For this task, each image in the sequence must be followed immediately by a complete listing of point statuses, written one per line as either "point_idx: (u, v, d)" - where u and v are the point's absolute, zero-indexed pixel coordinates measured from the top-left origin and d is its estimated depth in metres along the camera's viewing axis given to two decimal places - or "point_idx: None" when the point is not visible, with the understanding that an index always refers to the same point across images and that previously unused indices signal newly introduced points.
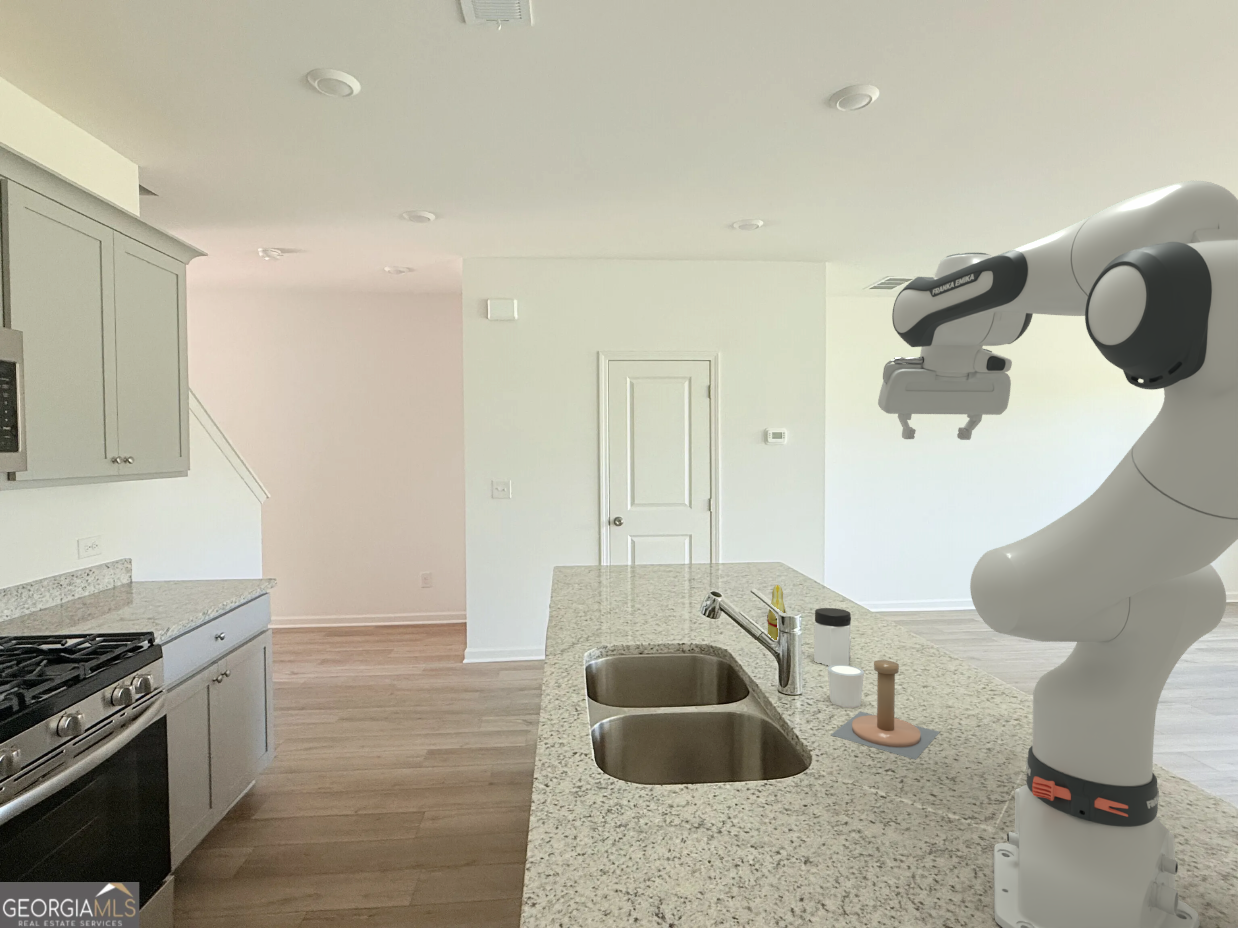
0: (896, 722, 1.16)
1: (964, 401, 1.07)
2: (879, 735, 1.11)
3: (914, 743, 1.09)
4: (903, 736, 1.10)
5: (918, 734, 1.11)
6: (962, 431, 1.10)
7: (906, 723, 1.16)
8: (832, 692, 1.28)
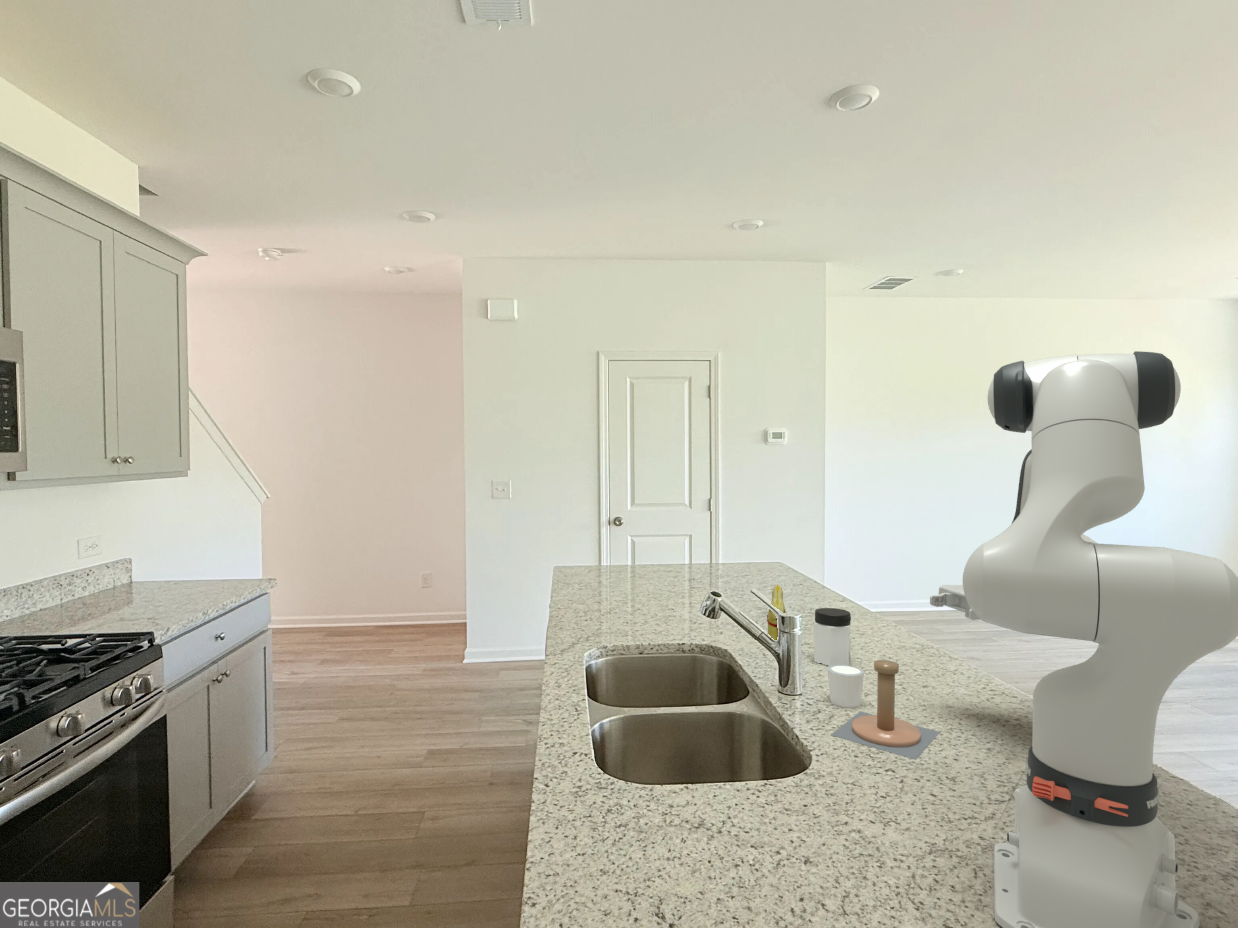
0: (896, 722, 1.16)
1: None
2: (879, 735, 1.11)
3: (914, 743, 1.09)
4: (903, 736, 1.10)
5: (918, 734, 1.11)
6: None
7: (906, 723, 1.16)
8: (832, 692, 1.28)
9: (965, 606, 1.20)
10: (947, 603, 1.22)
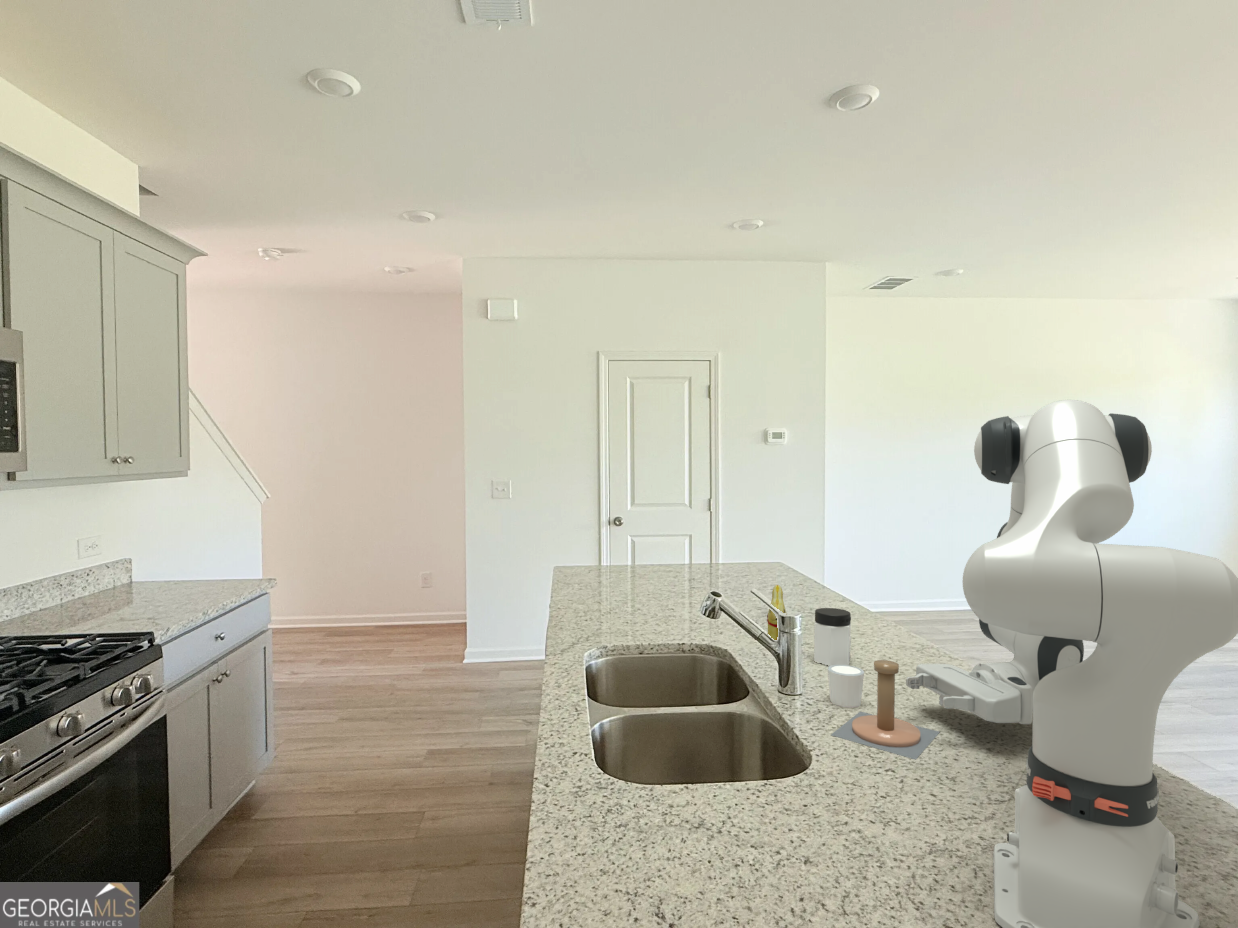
0: (896, 722, 1.16)
1: (971, 685, 1.13)
2: (879, 735, 1.11)
3: (914, 743, 1.09)
4: (903, 736, 1.10)
5: (918, 734, 1.11)
6: None
7: (906, 723, 1.16)
8: (832, 692, 1.28)
9: (941, 689, 1.19)
10: (923, 684, 1.21)
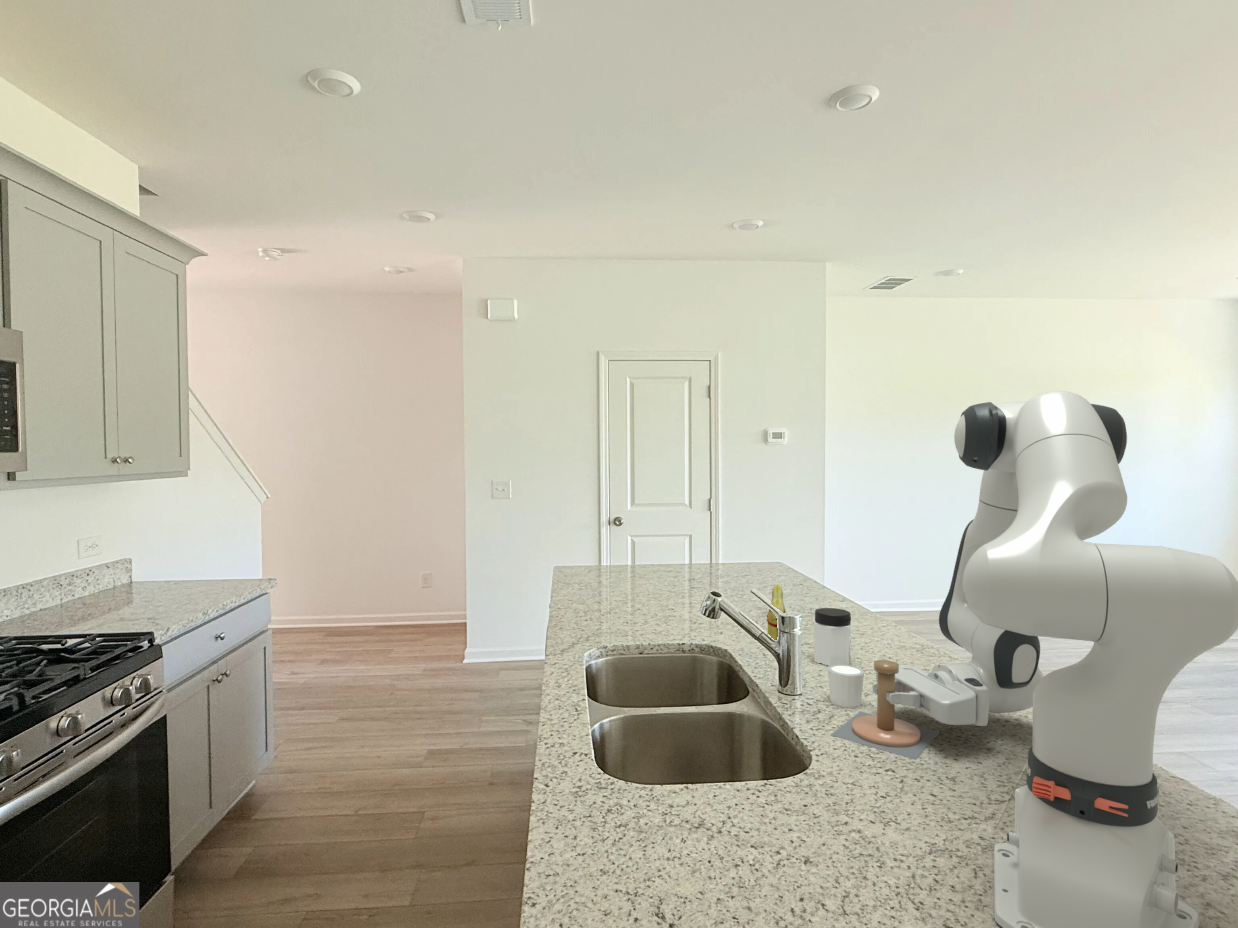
0: (896, 722, 1.16)
1: (928, 686, 1.12)
2: (879, 735, 1.11)
3: (914, 743, 1.09)
4: (903, 736, 1.10)
5: (918, 734, 1.11)
6: None
7: (906, 723, 1.16)
8: (832, 692, 1.28)
9: None
10: None
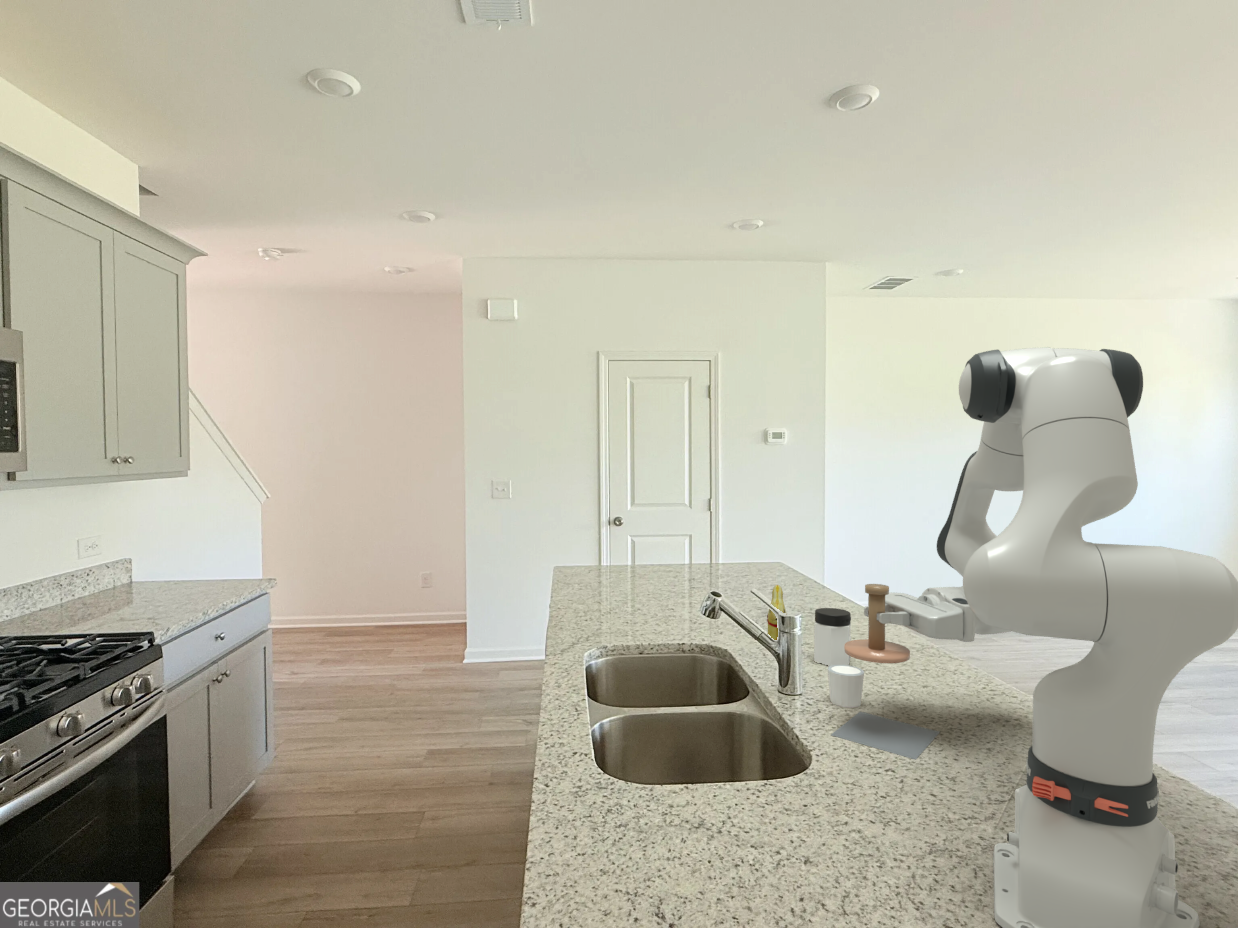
0: (887, 644, 1.20)
1: (917, 606, 1.16)
2: (870, 653, 1.15)
3: (904, 660, 1.13)
4: (893, 654, 1.14)
5: (908, 652, 1.15)
6: None
7: (897, 645, 1.20)
8: (832, 692, 1.28)
9: None
10: None
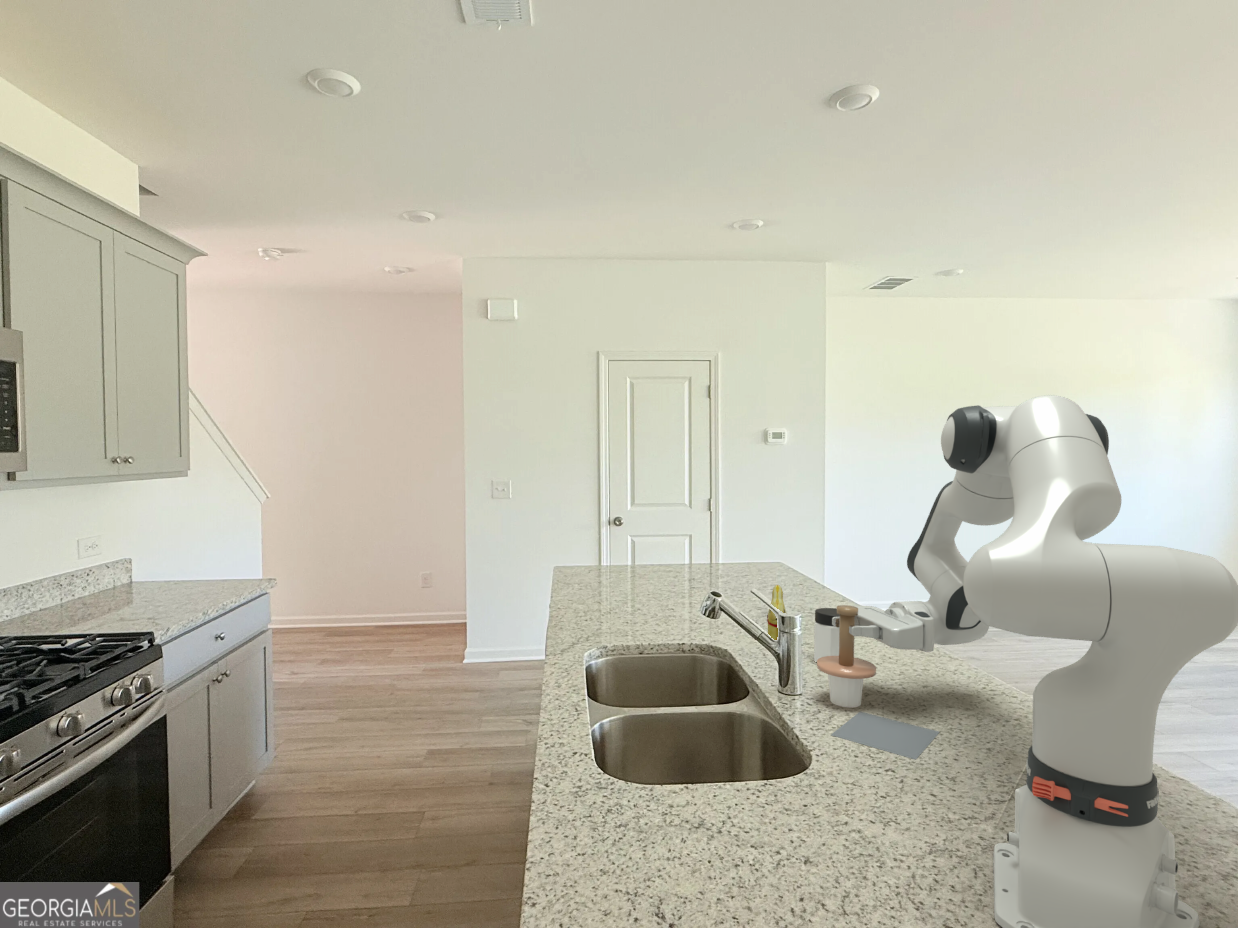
0: (856, 661, 1.31)
1: (882, 619, 1.27)
2: (839, 669, 1.25)
3: (870, 676, 1.24)
4: (860, 670, 1.25)
5: (874, 669, 1.26)
6: None
7: (865, 661, 1.31)
8: (832, 692, 1.28)
9: (859, 625, 1.32)
10: None
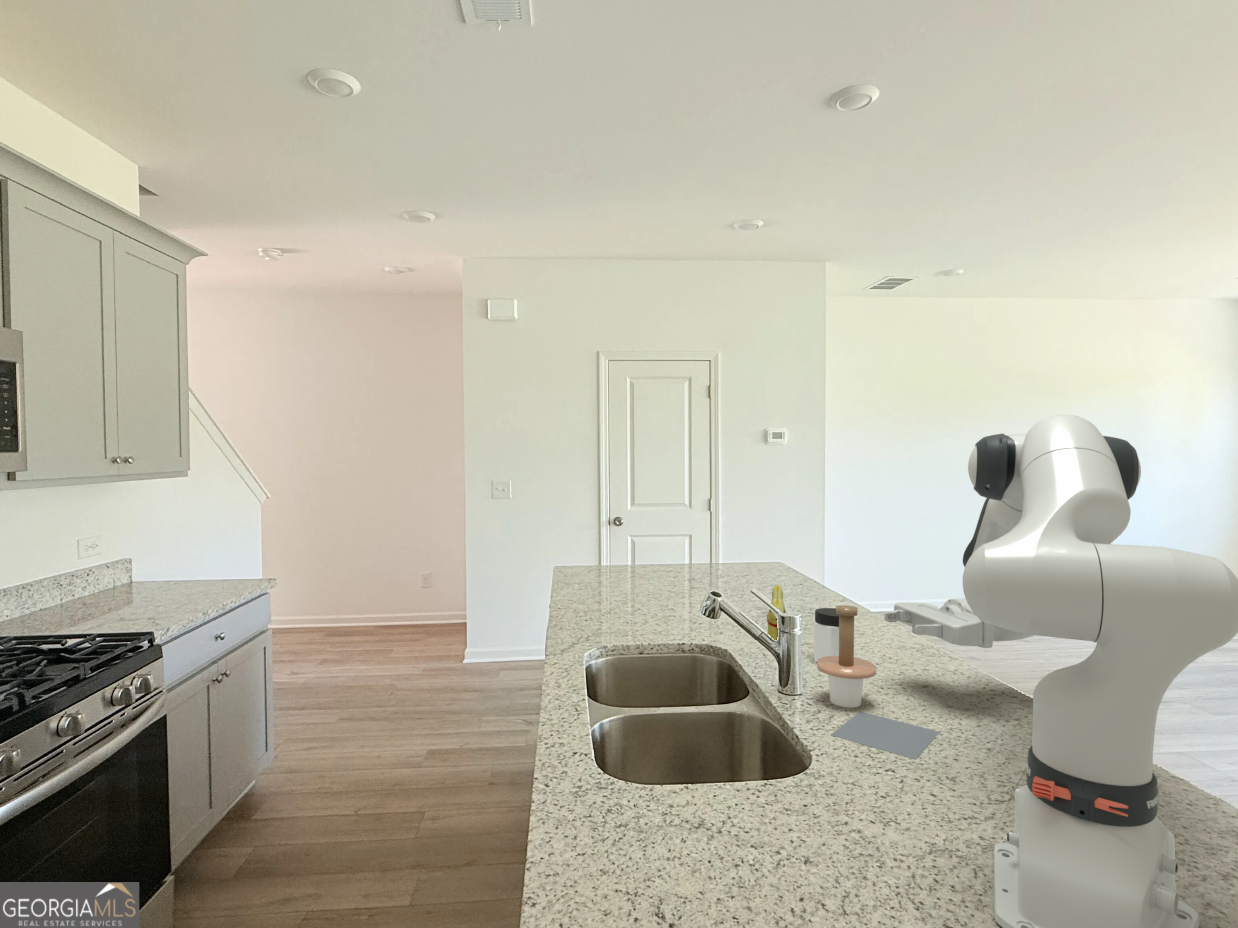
0: (856, 661, 1.31)
1: (940, 616, 1.29)
2: (839, 669, 1.25)
3: (869, 676, 1.24)
4: (860, 670, 1.25)
5: (874, 669, 1.26)
6: None
7: (865, 661, 1.30)
8: (832, 692, 1.28)
9: (915, 622, 1.34)
10: (900, 619, 1.36)
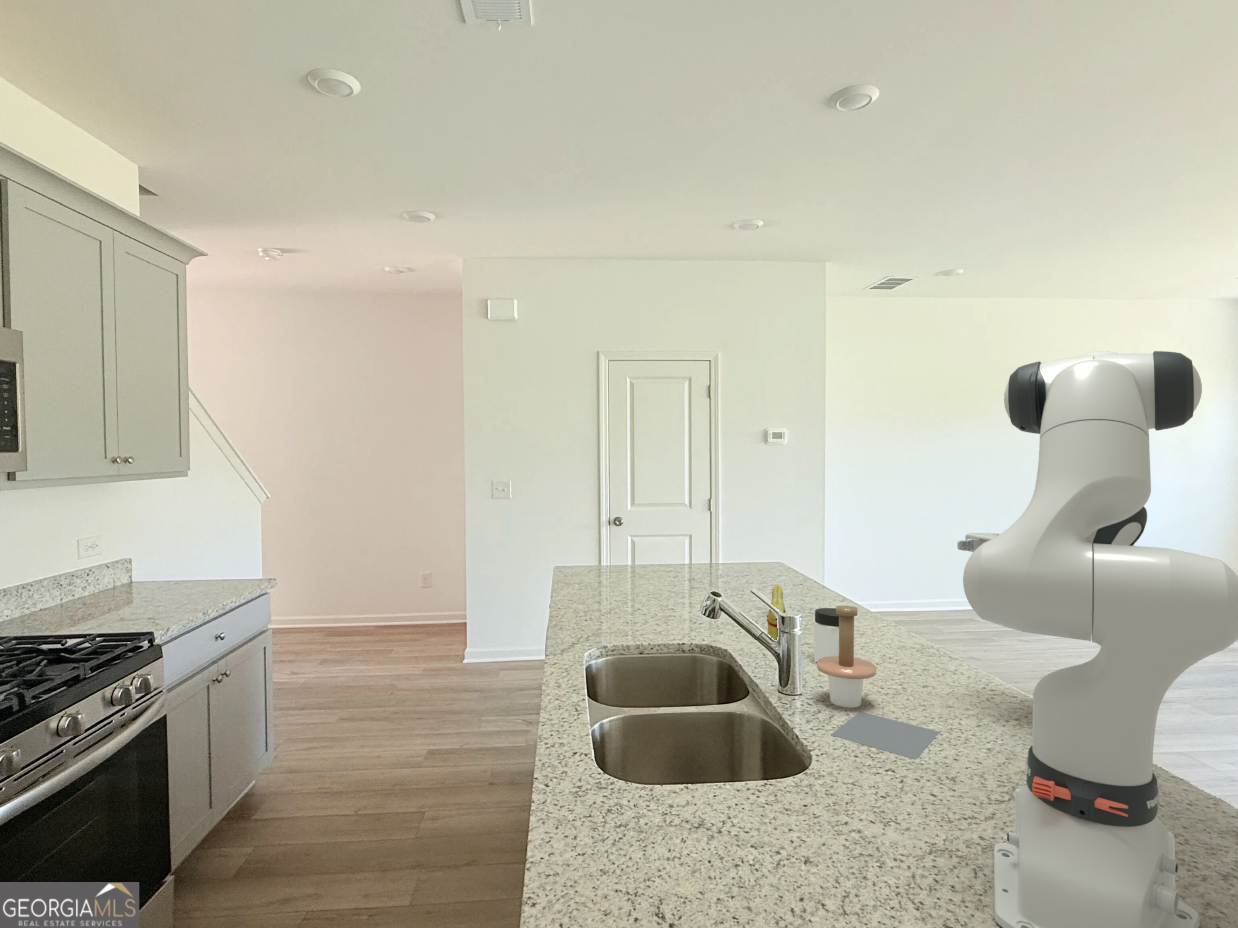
0: (856, 661, 1.31)
1: None
2: (839, 669, 1.25)
3: (869, 676, 1.24)
4: (860, 670, 1.25)
5: (874, 669, 1.26)
6: None
7: (865, 661, 1.30)
8: (832, 692, 1.28)
9: None
10: (974, 548, 1.26)
